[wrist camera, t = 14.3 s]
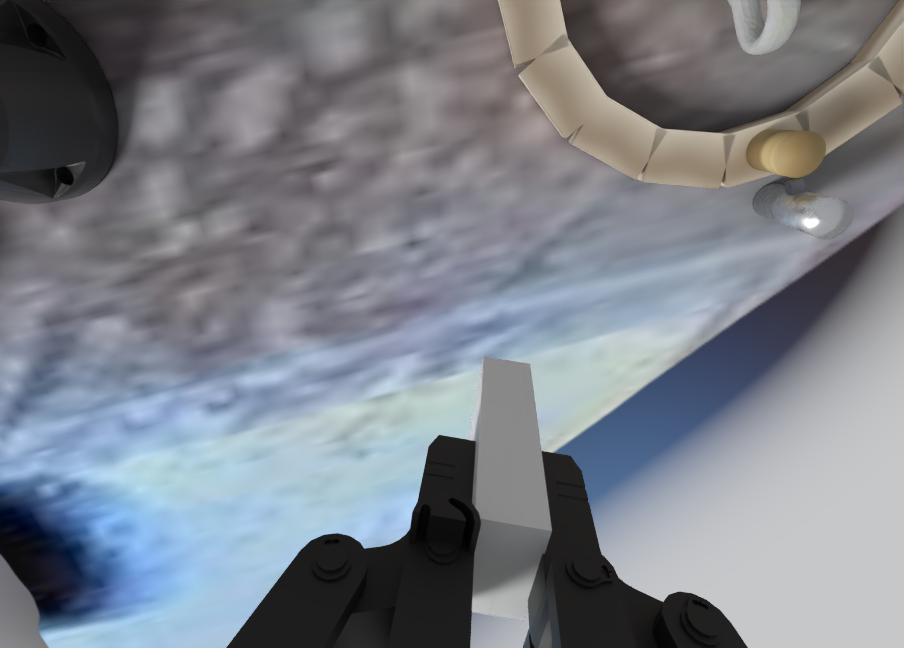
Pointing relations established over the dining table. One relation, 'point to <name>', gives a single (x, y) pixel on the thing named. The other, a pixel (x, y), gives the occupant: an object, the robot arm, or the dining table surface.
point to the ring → (693, 152)
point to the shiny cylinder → (803, 209)
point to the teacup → (777, 27)
